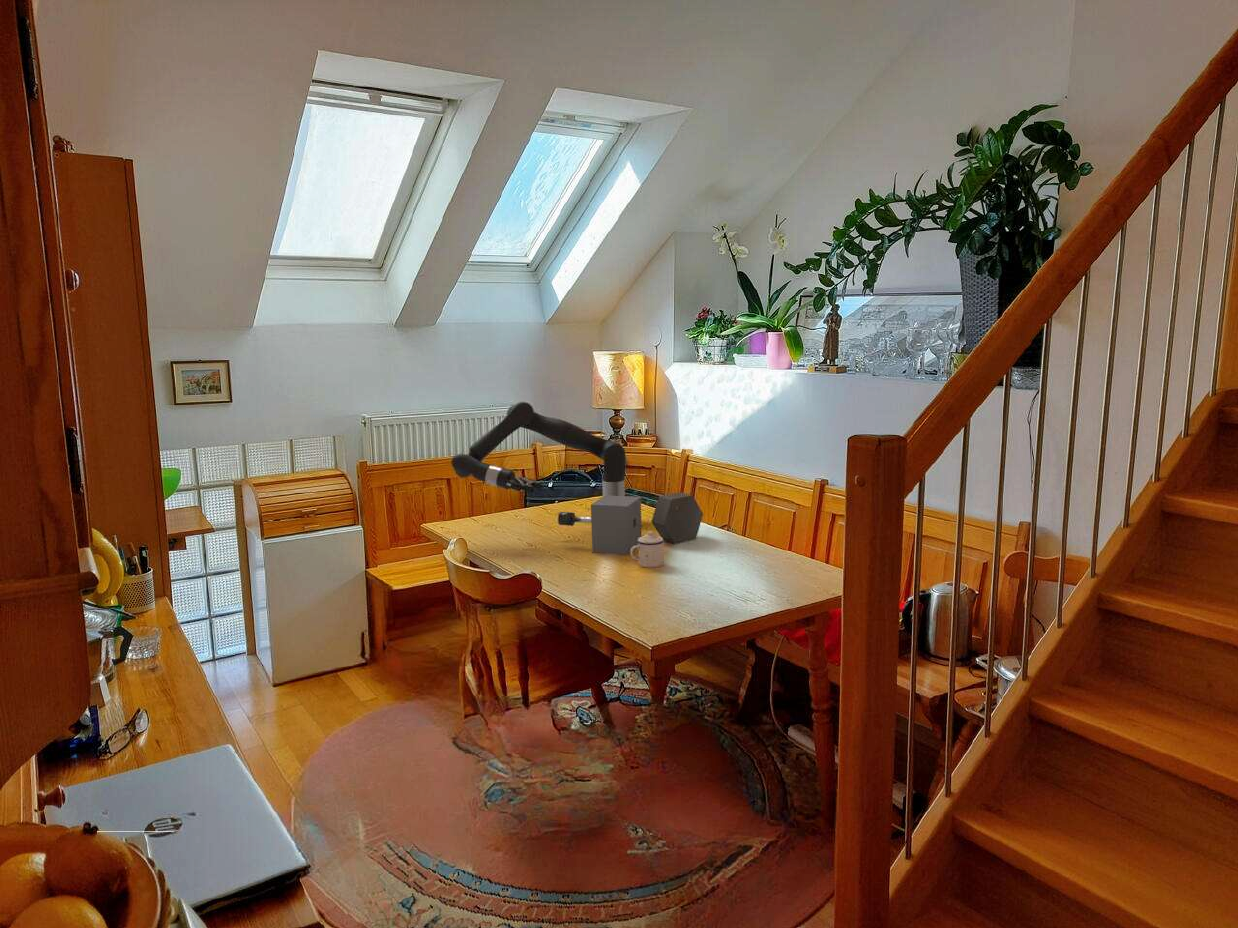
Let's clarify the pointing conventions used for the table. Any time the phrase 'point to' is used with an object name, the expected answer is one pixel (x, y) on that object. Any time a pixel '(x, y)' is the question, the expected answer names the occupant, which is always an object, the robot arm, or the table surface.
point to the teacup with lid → (649, 550)
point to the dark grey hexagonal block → (677, 517)
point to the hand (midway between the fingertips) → (538, 489)
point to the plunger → (571, 519)
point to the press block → (615, 524)
